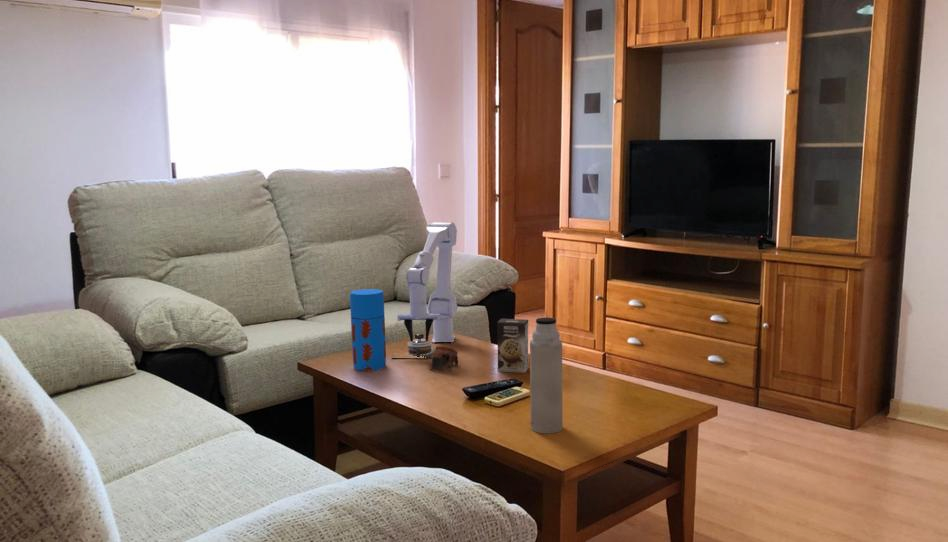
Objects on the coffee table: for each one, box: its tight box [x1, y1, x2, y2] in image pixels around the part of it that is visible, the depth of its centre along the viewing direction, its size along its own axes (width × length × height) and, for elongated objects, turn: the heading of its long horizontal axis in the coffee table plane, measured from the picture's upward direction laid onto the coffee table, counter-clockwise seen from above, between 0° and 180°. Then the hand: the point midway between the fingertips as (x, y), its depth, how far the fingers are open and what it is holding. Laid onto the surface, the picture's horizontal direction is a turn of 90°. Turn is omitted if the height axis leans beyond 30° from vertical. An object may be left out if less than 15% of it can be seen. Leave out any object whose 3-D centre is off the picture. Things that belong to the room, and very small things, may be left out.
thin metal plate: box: [391, 340, 436, 359], centre depth 272 cm, size 13×18×4 cm
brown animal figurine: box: [429, 345, 459, 372], centre depth 253 cm, size 12×10×8 cm
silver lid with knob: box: [409, 332, 430, 345], centre depth 272 cm, size 6×6×3 cm
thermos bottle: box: [529, 317, 564, 434], centre depth 194 cm, size 8×8×28 cm
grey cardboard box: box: [497, 318, 529, 374], centre depth 249 cm, size 9×6×16 cm
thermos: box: [349, 288, 387, 372], centre depth 255 cm, size 11×11×25 cm
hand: (419, 340), depth 272 cm, fingers open, 5 cm apart
